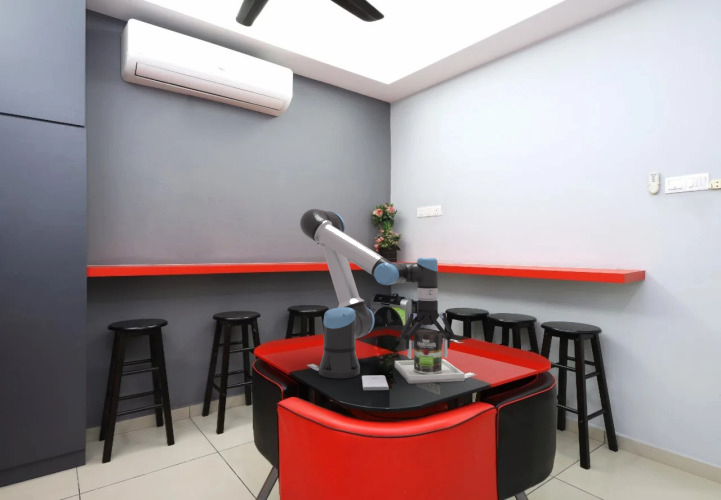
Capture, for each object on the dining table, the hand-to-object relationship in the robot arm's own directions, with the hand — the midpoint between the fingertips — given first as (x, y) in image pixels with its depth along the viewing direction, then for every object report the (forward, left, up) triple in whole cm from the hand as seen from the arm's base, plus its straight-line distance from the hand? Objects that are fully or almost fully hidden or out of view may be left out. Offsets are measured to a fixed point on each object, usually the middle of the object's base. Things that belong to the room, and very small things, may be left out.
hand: (427, 357), depth 145 cm
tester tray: (0, 0, -6) cm, 6 cm away
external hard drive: (-21, -9, -7) cm, 24 cm away
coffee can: (0, 0, -5) cm, 5 cm away
